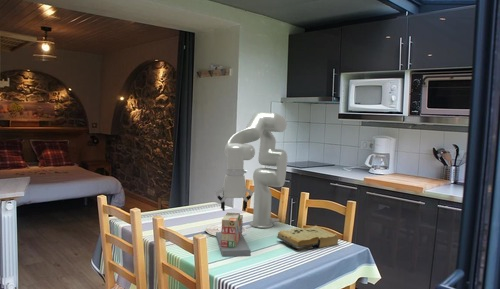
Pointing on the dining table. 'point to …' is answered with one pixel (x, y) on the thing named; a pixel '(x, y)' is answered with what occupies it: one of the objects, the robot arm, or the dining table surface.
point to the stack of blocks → (231, 229)
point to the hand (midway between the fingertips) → (233, 209)
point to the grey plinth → (239, 250)
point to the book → (308, 238)
